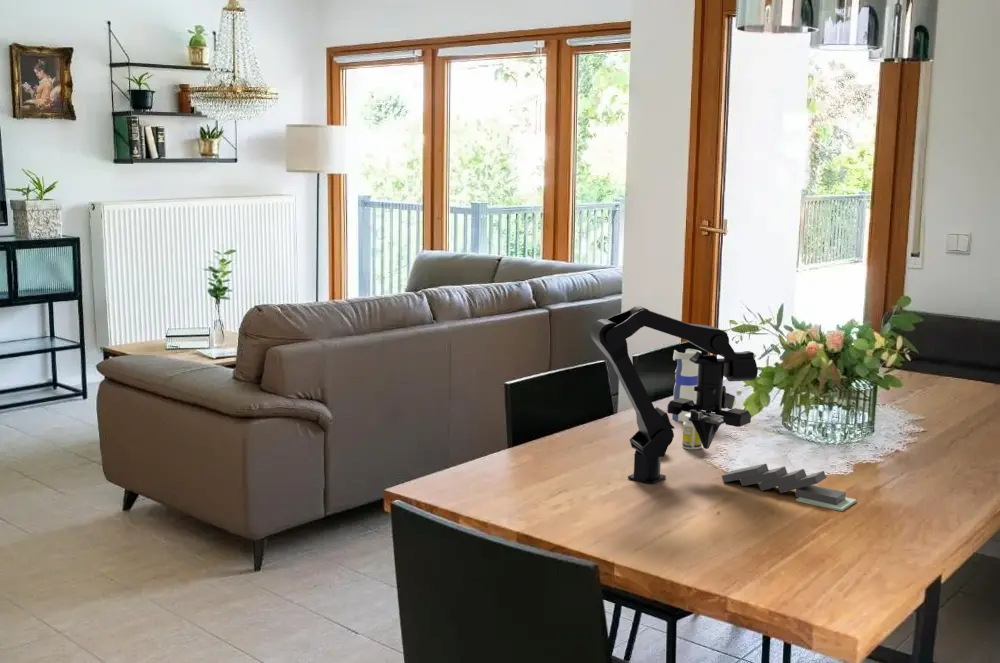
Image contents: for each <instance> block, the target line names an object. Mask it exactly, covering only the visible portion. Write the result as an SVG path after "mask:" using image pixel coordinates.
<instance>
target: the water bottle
mask: <svg viewBox="0 0 1000 663" xmlns="http://www.w3.org/2000/svg"><path fill="white" fill-rule="evenodd" d="M696 352H700V353H702V351H701V350H698V349H694V348H686V349H685V352H679V351H678V350H676V349H674V350H673V356H672V361H676V363H677V365H676V369H675V371H674V373H675V374H674V379H675V383H674V387H673V400H675V399H678V398H683V399H689V400H693V402H694V404H695V403H696V399H697V391H694V386H697V380H698V364H695V363H693V362H691V361H690V360H689V359H690V358H691V357H692V356H694V355H695V354H696ZM688 413H691V412H686V411H682V412H681V413H680V414H679V415H676V414H671V419H672V420H674V421H676V422H682V423H684V422H685V414H688Z"/></svg>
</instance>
